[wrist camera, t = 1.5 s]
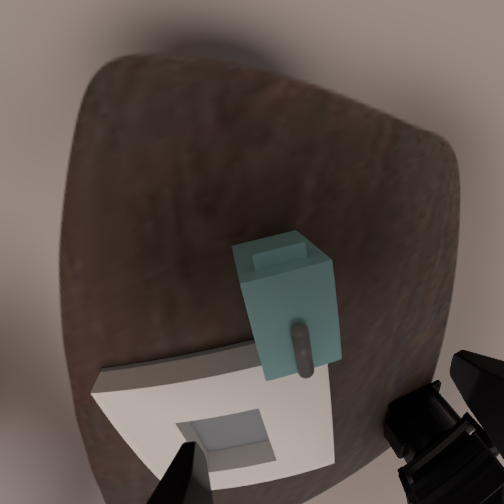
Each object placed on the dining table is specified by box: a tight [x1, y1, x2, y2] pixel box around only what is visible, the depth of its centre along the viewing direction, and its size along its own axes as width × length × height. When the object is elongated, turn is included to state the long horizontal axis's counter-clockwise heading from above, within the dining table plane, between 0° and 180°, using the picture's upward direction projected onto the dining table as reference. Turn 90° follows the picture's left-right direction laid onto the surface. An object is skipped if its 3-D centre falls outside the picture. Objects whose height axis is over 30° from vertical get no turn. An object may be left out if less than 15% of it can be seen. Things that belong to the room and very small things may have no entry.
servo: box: [232, 230, 342, 381], centre depth 16 cm, size 4×7×7 cm, turn 13°
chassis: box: [91, 339, 335, 490], centre depth 20 cm, size 16×15×3 cm
